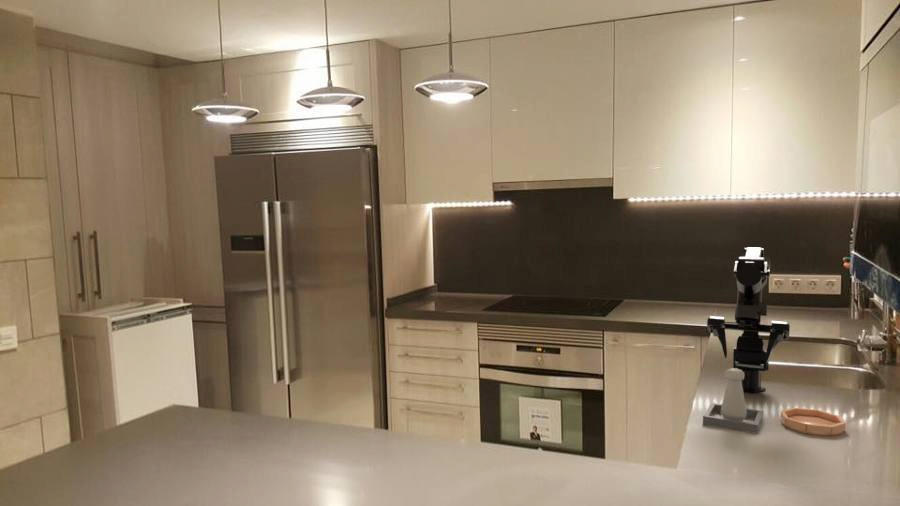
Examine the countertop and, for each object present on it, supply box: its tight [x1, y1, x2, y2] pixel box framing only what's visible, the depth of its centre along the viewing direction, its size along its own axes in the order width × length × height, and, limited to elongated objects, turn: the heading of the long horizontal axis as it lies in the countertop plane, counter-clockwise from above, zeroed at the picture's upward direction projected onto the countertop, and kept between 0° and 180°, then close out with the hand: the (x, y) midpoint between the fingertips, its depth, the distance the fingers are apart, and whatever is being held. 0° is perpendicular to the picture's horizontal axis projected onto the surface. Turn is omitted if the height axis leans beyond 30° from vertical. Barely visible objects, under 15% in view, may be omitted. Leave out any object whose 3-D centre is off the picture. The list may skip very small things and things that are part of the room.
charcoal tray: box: [702, 402, 764, 434], centre depth 155 cm, size 12×12×2 cm
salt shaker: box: [720, 367, 747, 422], centre depth 154 cm, size 6×6×13 cm
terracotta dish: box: [779, 407, 847, 437], centre depth 151 cm, size 13×13×2 cm
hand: (745, 359), depth 156 cm, fingers open, 9 cm apart
